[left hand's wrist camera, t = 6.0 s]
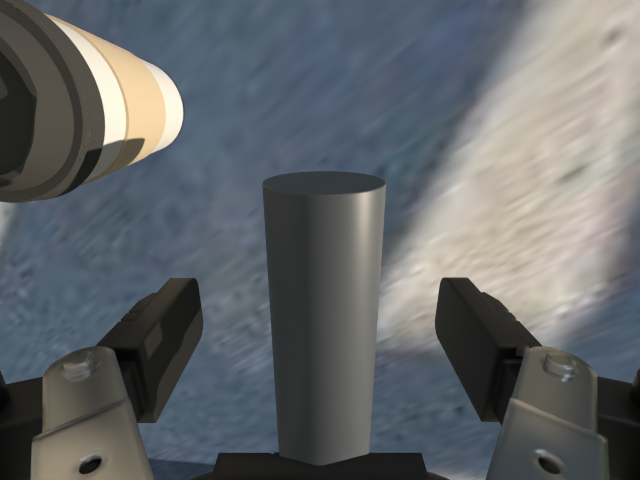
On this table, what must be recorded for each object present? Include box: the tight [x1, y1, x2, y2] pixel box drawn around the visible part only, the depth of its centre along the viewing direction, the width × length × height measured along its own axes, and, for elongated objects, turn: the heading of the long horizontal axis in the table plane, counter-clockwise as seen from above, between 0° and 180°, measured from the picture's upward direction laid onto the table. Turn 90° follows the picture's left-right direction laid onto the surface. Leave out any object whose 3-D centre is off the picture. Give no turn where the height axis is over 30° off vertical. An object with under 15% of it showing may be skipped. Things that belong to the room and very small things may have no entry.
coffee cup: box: [0, 0, 183, 203], centre depth 20 cm, size 9×9×15 cm
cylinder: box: [263, 171, 386, 466], centre depth 20 cm, size 24×6×6 cm, turn 0°
